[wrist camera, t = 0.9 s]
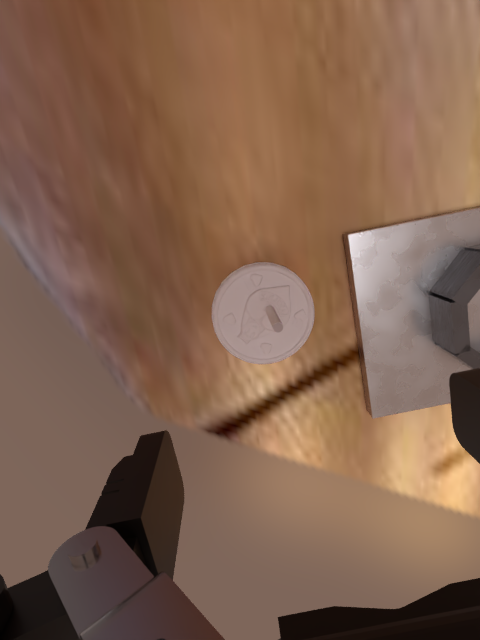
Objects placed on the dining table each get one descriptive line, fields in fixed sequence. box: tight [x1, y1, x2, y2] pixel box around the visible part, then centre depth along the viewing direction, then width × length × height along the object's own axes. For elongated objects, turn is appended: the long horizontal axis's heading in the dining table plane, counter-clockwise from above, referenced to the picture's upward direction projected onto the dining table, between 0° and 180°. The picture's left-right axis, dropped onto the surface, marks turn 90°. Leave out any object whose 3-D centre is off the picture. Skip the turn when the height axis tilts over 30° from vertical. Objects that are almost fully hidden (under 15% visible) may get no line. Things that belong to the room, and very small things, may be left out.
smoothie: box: [212, 262, 314, 364], centre depth 28 cm, size 6×6×14 cm
